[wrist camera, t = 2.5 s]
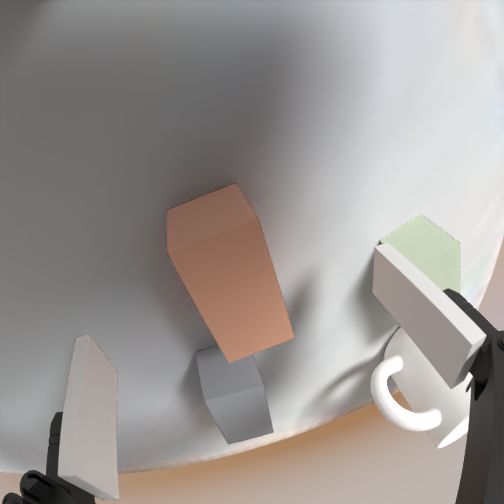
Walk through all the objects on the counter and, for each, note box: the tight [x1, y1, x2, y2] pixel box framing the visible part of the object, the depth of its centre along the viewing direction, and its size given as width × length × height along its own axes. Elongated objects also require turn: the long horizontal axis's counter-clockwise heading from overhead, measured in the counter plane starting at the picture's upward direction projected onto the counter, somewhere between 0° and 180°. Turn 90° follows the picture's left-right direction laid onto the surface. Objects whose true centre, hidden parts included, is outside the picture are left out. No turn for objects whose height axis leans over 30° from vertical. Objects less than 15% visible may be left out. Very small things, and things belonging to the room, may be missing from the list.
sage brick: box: [380, 214, 460, 294], centre depth 19 cm, size 7×4×4 cm, turn 28°
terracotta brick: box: [166, 183, 295, 363], centre depth 15 cm, size 7×4×4 cm, turn 17°
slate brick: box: [195, 346, 274, 444], centre depth 20 cm, size 7×4×4 cm, turn 9°
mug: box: [370, 327, 473, 449], centre depth 21 cm, size 12×8×10 cm
